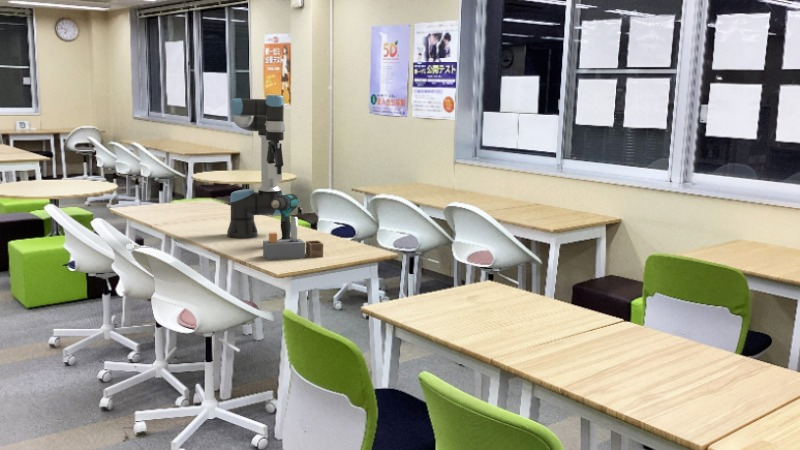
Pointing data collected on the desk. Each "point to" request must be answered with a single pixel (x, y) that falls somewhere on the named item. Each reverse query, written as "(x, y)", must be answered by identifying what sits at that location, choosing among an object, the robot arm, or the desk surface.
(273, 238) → the plunger
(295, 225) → the cylinder
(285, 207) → the power drill
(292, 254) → the socket block
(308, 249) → the hollow brown square tube
